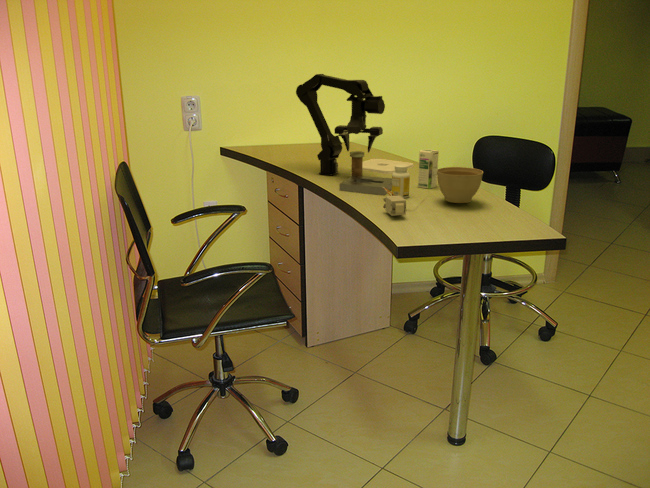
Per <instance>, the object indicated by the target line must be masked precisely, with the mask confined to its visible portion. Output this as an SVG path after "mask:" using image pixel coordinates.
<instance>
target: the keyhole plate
mask: <svg viewBox="0 0 650 488" xmlns="http://www.w3.org/2000/svg"><path fill="white" fill-rule="evenodd" d="M338 185H339V187H338V188H339V191H341V192H349V193H356V194H357V193H358V194H367V195H379V196H387V194H388V193H390V192H391V191H392V177H391V178H390V177H379V176H365V175H362V176H355V175H353V176H349V177H348V178H347V179H345V180H343V181H342V182H340V183H339V184H338ZM383 187H384V188H386V189H387V190H389V191H390V192H389V191H386V190H385V189H384V188H383ZM387 192H388V193H387Z"/></svg>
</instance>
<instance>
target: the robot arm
mask: <svg viewBox="0 0 650 488" xmlns="http://www.w3.org/2000/svg"><path fill="white" fill-rule="evenodd" d="M322 86H325V87H330V88H334V89H339V90H341V91H342V90H343V91H345V92H346V93H347V94H349V96H348V97H347V99H346V101H347V102H351V115H350V120H349V122H348V123H347V125H344V124H343V125H337V126H336V127H334V134H333V133H332V131H331V129H330V126H329V124H328V122H327V119H326V118H325V116H324V114H323V111H322V109H321V107H320V105H319V103H318V92H317V91H319V90H320V88H321V87H322ZM295 89H296V90H295V94H296V96H297V98H298V99H299V101H300V102H301V103H302V104H303V105H304V106H305V107H306V108H307V110H308V113H309V115H310V117H311V120H312V122H313V124H314V126H315V128H316V130H317V133H318V135H319V137H320V146H321V147H320V148H321V151H319V153H318V154H317V158H318V159H317V160H318V161H320V162H319V163H320V167H319V172H318V174H319V175H326V176H327V175H328V176H334V175H337V174H338V173H339V167H338V165H339V163H338V161H337V160H338V158H339V157H340V154H341V153H342V150H343V143H344V145H345V148H346V151H347V152H349V151H350V134H355V135H358V134H361V133H362V134H369V135H368V136H367V139H368V141H367V142H368V143H367V153H370V151H371V150H372V147H373V144H374V142H375V140H376V138H377V137H379V136H381V135H382V134H383V133H384V132H383V130H384V129H383V127H382V126H372V127H370V128H367V121H366V120H367V114H372V115H373V114H374V115H382V114H383V113H384V112H385V109H386V104H385V101H384V99H383V96H382V95H378V96H377V95H374V94H373V92H372V91H371V89H370V88H369V83H368V82H367V80H365V79H345V78H340V77H335V76H332V75H326V74H324V73H316V74H314V75H313V76H312V77H311V78H309V79H308V80H306V81H305V82H303V83H301V84H299V85H297V87H296V88H295ZM337 134H338V135H337ZM340 137H341V139H342V141H343V143H342V141H341V139H340Z"/></svg>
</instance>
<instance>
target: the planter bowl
mask: <svg viewBox="0 0 650 488" xmlns="http://www.w3.org/2000/svg"><path fill="white" fill-rule="evenodd" d="M483 175H484V171H483V170H481V169H478V168H473V167H465V166H449V167H448V166H446V167H440V168H438V170H437V185H438V187H439V189H440V191H441V193H442V195H443V197H444V200H445V202H449V203H454V204H455V203H456V204H465V203H466V204H467V203H470V202H472V198H473V197H475V195H476V194H477V192H478V191H479V190H480V186H481V183H482V180H483Z"/></svg>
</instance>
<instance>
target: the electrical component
mask: <svg viewBox="0 0 650 488" xmlns="http://www.w3.org/2000/svg"><path fill="white" fill-rule="evenodd" d="M383 188H384V187H383ZM384 189H385V190H386V191H389V190H387V189H386V188H384ZM387 194H388V195H385V197H383V198H382V199H383V201H384V202H385V203H384V204H383V205H382V206H383V209H385V212H386V213H388V214H389V215H390V216H393V217H394V216H405V215H407V214H406V213H407V200H406V198H402V197H401V196H400V195H398V196H395V195H394V194H393V193H392V191H391V190H390V191H389V192H387ZM392 194H393V195H394V196H392Z"/></svg>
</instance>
